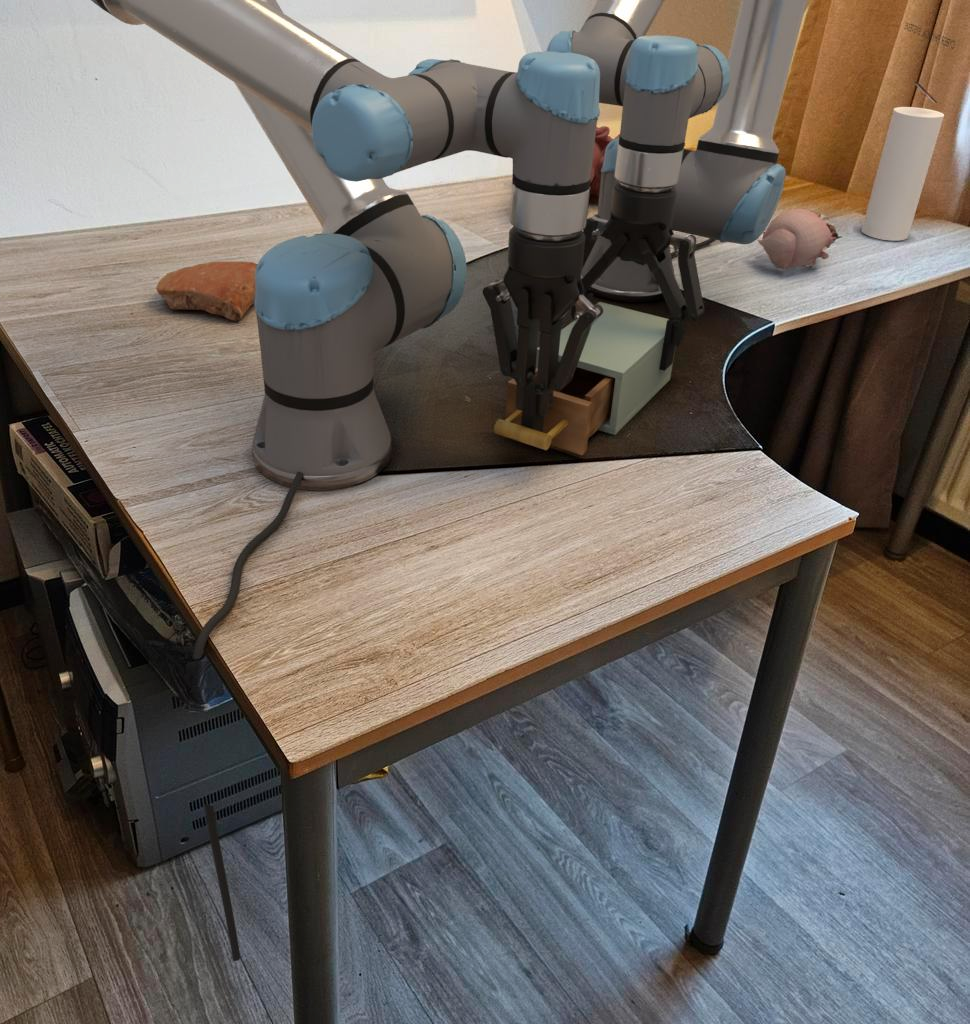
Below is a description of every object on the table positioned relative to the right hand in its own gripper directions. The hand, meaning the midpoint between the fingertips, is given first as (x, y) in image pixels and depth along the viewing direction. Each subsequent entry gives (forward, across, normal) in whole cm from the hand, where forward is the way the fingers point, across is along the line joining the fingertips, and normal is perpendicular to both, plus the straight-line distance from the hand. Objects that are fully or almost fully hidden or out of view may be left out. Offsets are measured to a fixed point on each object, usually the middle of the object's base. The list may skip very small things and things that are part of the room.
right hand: (622, 354), depth 125 cm
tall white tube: (+4, -16, -88) cm, 90 cm away
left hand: (+1, 0, +25) cm, 25 cm away
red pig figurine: (+4, +40, -67) cm, 78 cm away
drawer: (+3, 0, +17) cm, 17 cm away
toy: (+4, -6, -59) cm, 60 cm away
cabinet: (+4, 0, +5) cm, 6 cm away
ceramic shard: (+4, +61, +11) cm, 62 cm away
